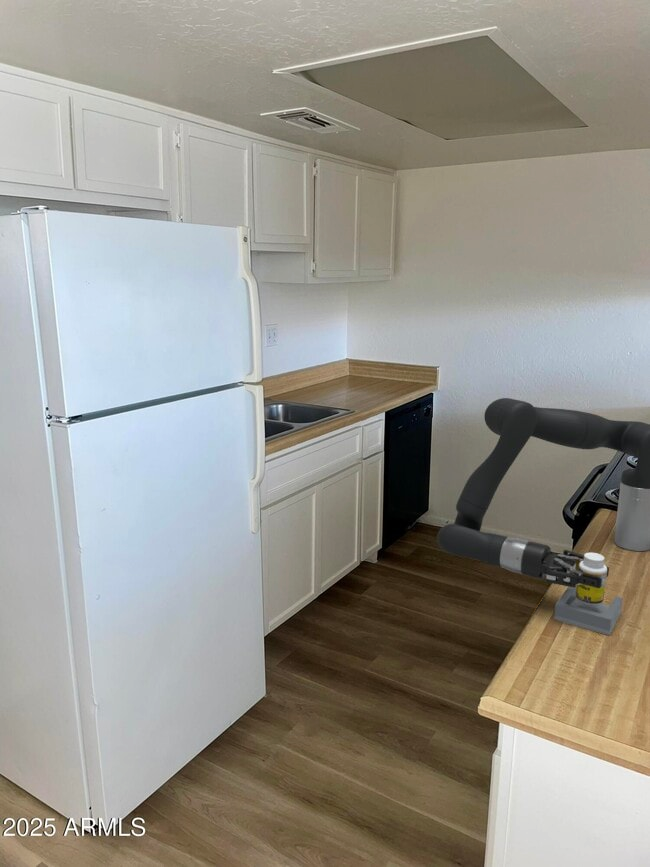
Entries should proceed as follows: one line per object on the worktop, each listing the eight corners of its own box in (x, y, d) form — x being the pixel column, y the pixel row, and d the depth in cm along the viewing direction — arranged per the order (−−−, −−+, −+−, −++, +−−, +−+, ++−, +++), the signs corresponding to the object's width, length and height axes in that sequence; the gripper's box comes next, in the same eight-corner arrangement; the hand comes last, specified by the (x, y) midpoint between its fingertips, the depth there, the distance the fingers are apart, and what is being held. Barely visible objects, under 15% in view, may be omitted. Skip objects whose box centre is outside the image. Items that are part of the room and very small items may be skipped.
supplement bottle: (569, 596, 142) (574, 552, 139) (591, 592, 143) (596, 549, 141) (586, 608, 137) (592, 563, 134) (608, 604, 138) (614, 560, 136)
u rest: (568, 598, 148) (569, 584, 147) (620, 613, 142) (622, 598, 141) (554, 619, 139) (555, 604, 138) (609, 635, 133) (611, 619, 132)
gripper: (515, 552, 140) (598, 573, 130) (536, 531, 151) (614, 549, 142) (512, 584, 142) (594, 608, 132) (533, 561, 153) (610, 581, 144)
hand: (604, 577), depth 137 cm, fingers closed on supplement bottle, 5 cm apart
